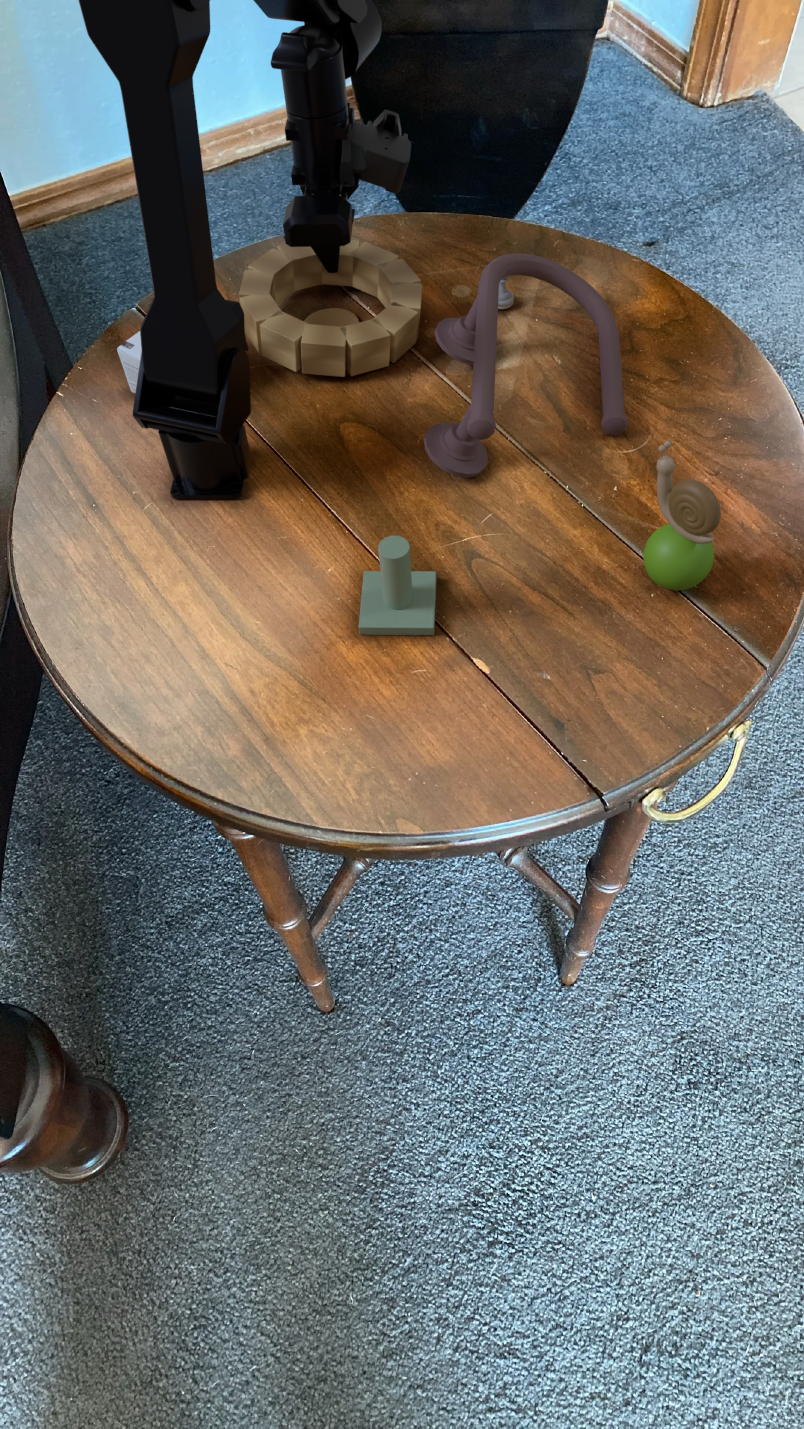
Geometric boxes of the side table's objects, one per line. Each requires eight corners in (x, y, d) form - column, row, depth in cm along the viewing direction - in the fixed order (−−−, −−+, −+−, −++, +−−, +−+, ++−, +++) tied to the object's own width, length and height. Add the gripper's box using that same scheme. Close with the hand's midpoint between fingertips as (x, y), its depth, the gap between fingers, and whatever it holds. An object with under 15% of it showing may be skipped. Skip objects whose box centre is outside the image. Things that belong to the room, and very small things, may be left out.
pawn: (504, 312, 100) (505, 276, 97) (483, 304, 101) (484, 268, 98) (518, 300, 101) (520, 264, 98) (498, 292, 102) (499, 256, 99)
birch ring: (415, 382, 95) (417, 351, 92) (231, 368, 95) (228, 336, 92) (422, 276, 105) (425, 245, 102) (256, 262, 105) (254, 231, 102)
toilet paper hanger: (637, 478, 84) (453, 409, 79) (595, 530, 89) (420, 468, 85) (622, 284, 99) (467, 217, 95) (587, 339, 105) (439, 278, 100)
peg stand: (359, 635, 78) (351, 576, 72) (364, 578, 81) (357, 518, 75) (434, 635, 77) (432, 576, 72) (436, 579, 81) (434, 518, 75)
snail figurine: (659, 538, 82) (686, 424, 72) (720, 579, 79) (757, 467, 69) (615, 571, 80) (637, 459, 70) (676, 615, 77) (708, 504, 67)
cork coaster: (298, 345, 99) (298, 343, 99) (305, 310, 103) (304, 308, 102) (357, 345, 99) (357, 342, 99) (361, 309, 102) (361, 307, 102)
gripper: (398, 153, 84) (406, 315, 97) (408, 55, 94) (414, 213, 107) (270, 156, 85) (295, 316, 98) (294, 59, 95) (314, 215, 108)
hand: (334, 263), depth 103 cm, fingers closed on birch ring, 3 cm apart
